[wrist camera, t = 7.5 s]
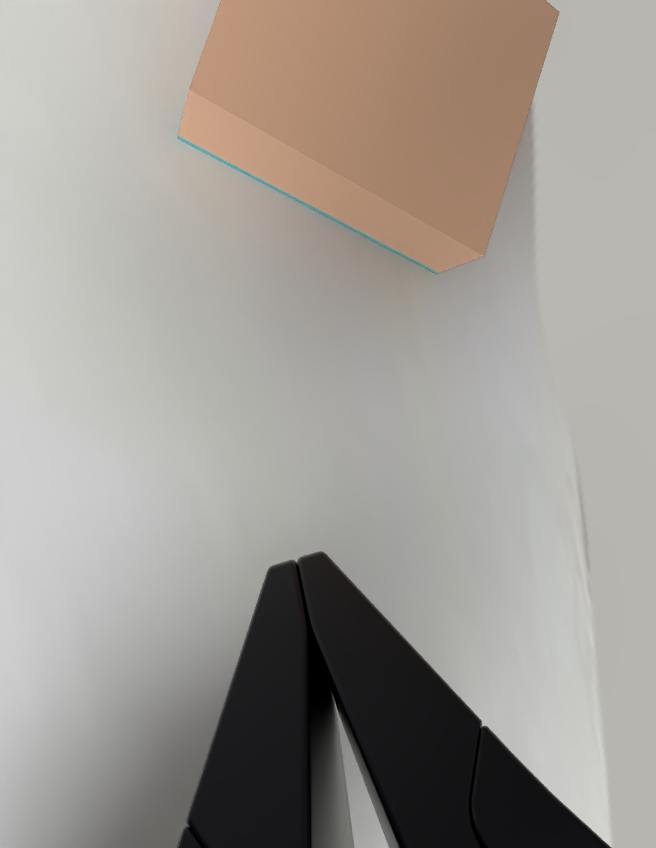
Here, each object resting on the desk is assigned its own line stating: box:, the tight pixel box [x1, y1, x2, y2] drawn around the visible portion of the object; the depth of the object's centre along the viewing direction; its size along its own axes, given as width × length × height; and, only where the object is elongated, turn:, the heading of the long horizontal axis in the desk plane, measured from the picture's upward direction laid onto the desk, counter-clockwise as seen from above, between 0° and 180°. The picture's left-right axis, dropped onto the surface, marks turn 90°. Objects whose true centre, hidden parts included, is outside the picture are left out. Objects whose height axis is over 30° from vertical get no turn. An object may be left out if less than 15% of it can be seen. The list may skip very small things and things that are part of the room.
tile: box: [178, 0, 559, 274], centre depth 17 cm, size 3×10×9 cm
